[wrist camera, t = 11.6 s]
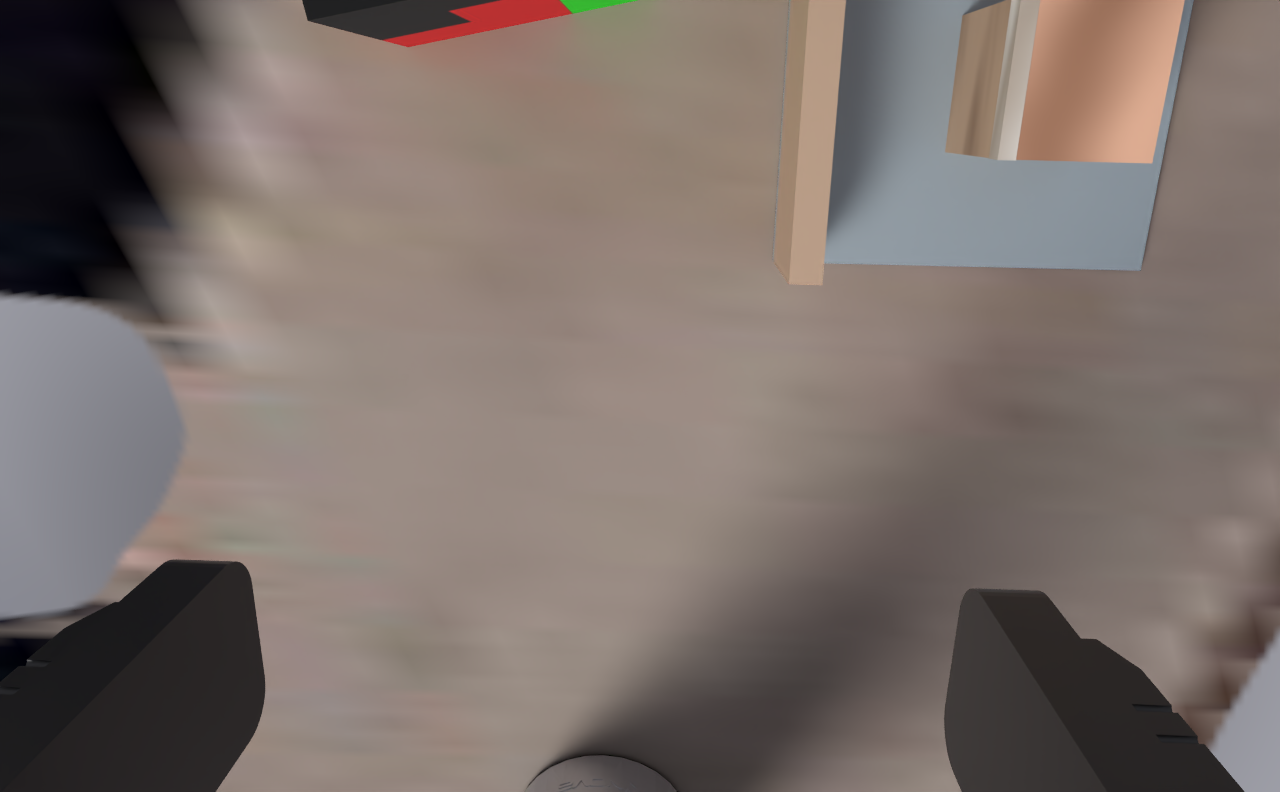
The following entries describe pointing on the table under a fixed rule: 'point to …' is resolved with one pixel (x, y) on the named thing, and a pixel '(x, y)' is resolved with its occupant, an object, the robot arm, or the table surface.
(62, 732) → the robot arm
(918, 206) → the arena
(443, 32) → the puzzle toy
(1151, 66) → the block
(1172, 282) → the table surface
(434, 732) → the table surface
